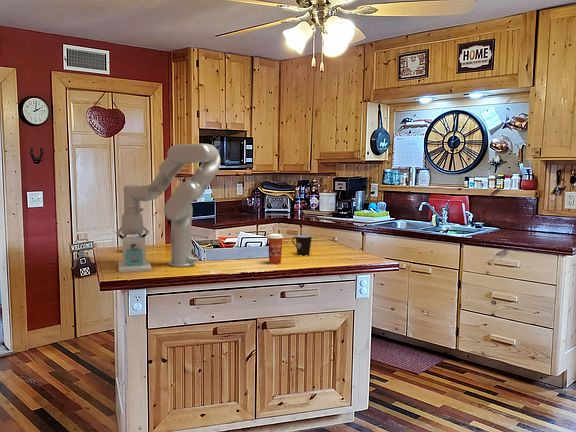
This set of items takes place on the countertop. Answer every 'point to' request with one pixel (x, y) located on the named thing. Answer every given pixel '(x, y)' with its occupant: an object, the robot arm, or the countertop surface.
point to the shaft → (134, 246)
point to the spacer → (134, 263)
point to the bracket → (134, 255)
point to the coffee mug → (303, 244)
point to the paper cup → (275, 248)
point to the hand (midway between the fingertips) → (132, 247)
